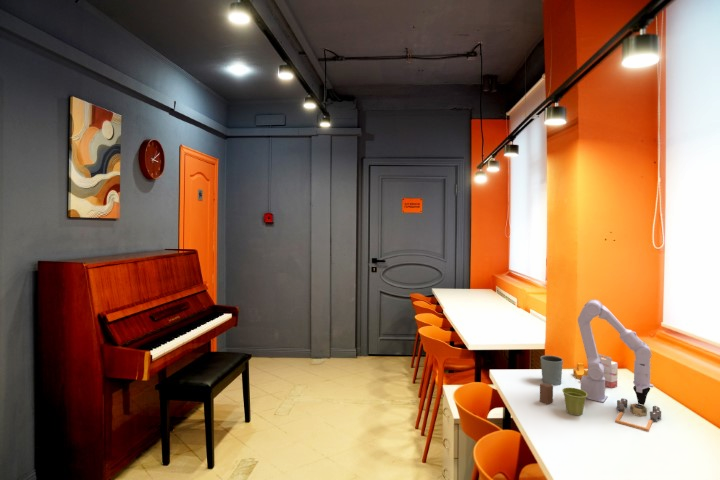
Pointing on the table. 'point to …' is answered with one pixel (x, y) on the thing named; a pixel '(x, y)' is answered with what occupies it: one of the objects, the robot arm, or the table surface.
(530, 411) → the table surface
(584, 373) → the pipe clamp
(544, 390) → the wooden block
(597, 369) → the robot arm
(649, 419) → the orange bay
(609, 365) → the ink cartridge box
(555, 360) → the grey bucket
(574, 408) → the plant pot
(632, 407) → the brass nut
